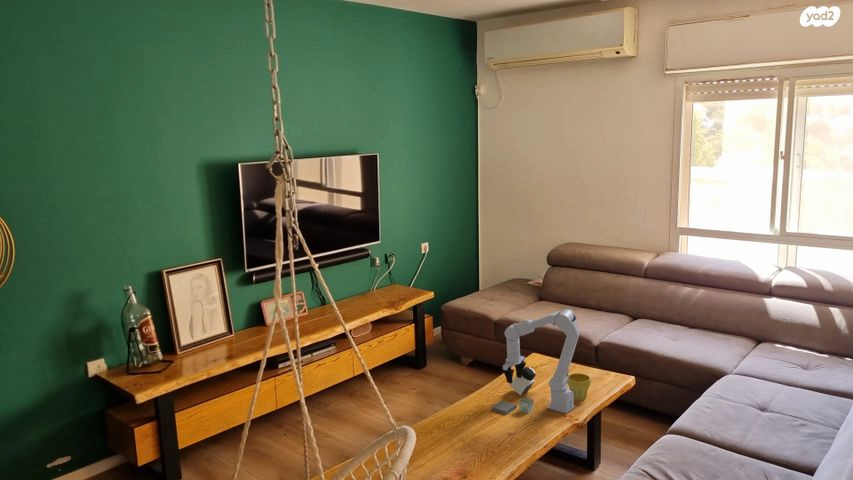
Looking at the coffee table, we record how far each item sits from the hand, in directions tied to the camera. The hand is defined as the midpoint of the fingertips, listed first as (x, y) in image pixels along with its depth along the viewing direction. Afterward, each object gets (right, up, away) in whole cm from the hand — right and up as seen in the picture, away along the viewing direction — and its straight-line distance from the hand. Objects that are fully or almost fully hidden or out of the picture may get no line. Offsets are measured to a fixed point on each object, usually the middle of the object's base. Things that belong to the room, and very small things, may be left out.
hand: (514, 380), depth 294 cm
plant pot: (+29, -8, +1) cm, 31 cm away
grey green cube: (+4, -11, -9) cm, 15 cm away
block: (-5, -12, -6) cm, 15 cm away
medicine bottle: (+3, -6, +10) cm, 12 cm away
